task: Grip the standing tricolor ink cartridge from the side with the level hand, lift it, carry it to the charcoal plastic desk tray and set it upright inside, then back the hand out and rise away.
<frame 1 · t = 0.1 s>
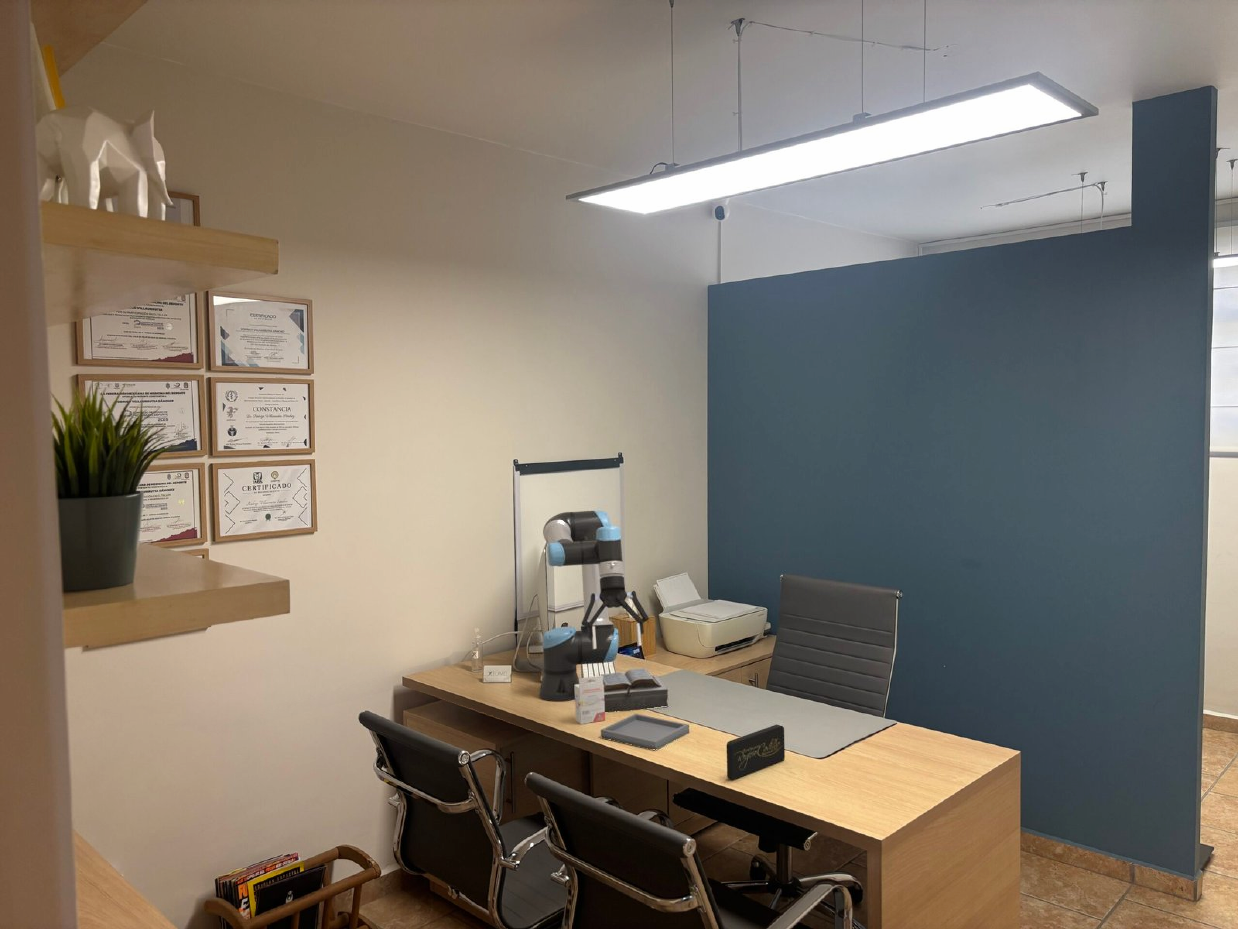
hand: (617, 647, 266), 28 cm above the table, tool tilted 20°, fingers open, 13 cm apart
nameplate: (756, 770, 240), on the table
ink cartridge box: (590, 721, 285), on the table
desk tray: (645, 735, 269), on the table
bible: (628, 703, 303), on the table
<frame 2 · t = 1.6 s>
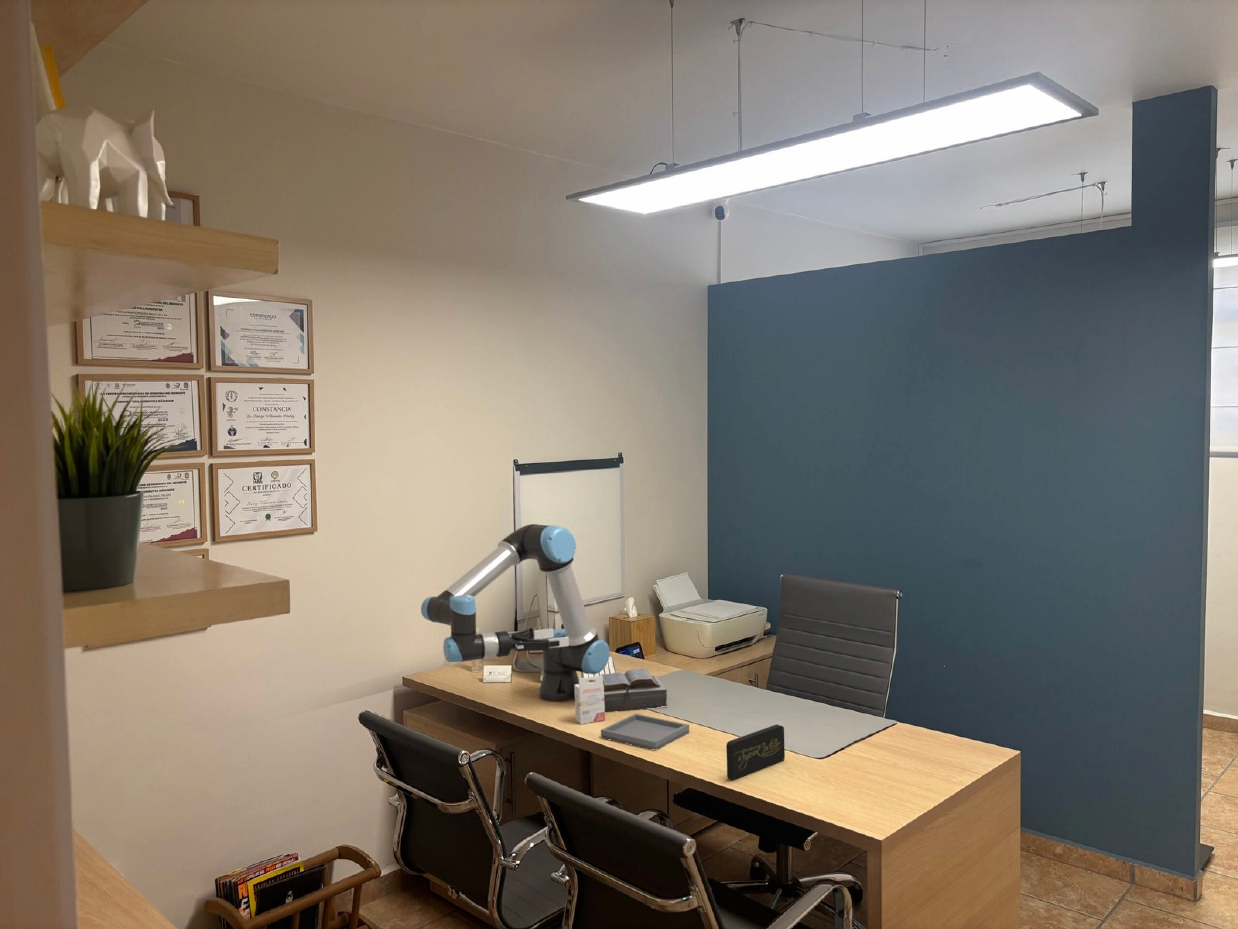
hand: (560, 637, 280), 28 cm above the table, tool horizontal, fingers open, 13 cm apart
nothing on the table moved.
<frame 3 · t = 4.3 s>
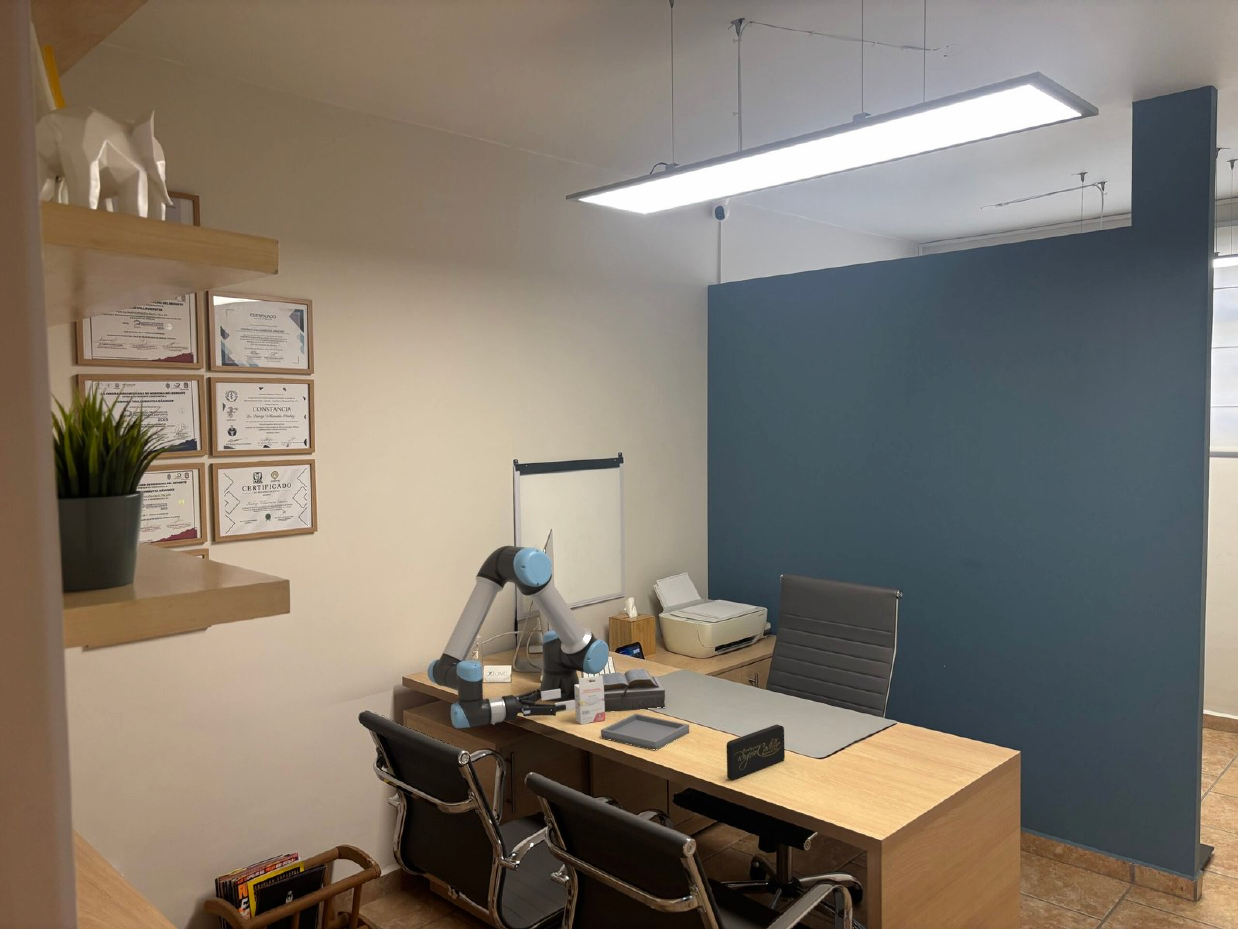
hand: (567, 698, 281), 8 cm above the table, tool horizontal, fingers open, 13 cm apart
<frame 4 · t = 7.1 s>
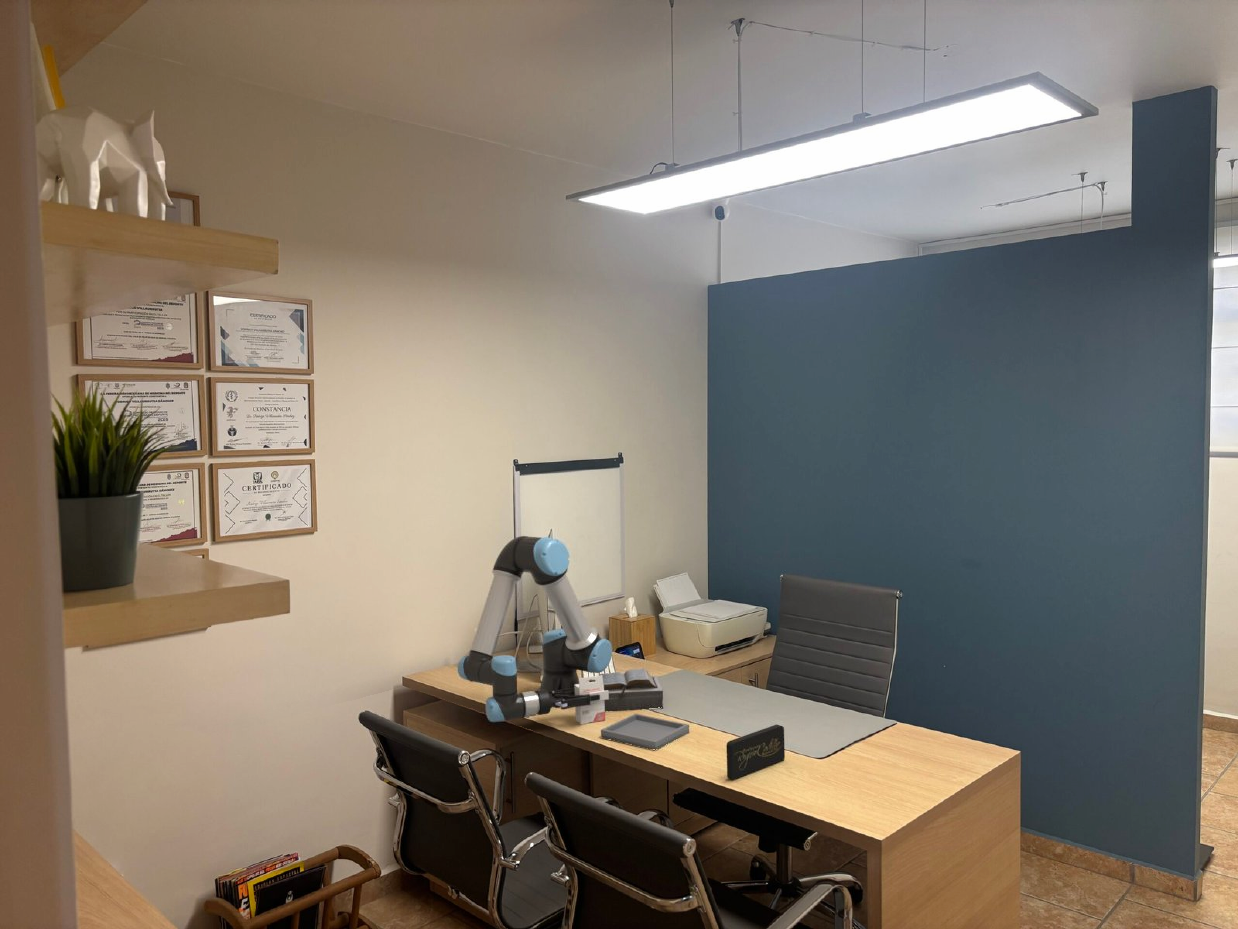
hand: (604, 692, 287), 8 cm above the table, tool horizontal, fingers closed on ink cartridge box, 5 cm apart
ink cartridge box: (590, 721, 285), on the table, touching gripper
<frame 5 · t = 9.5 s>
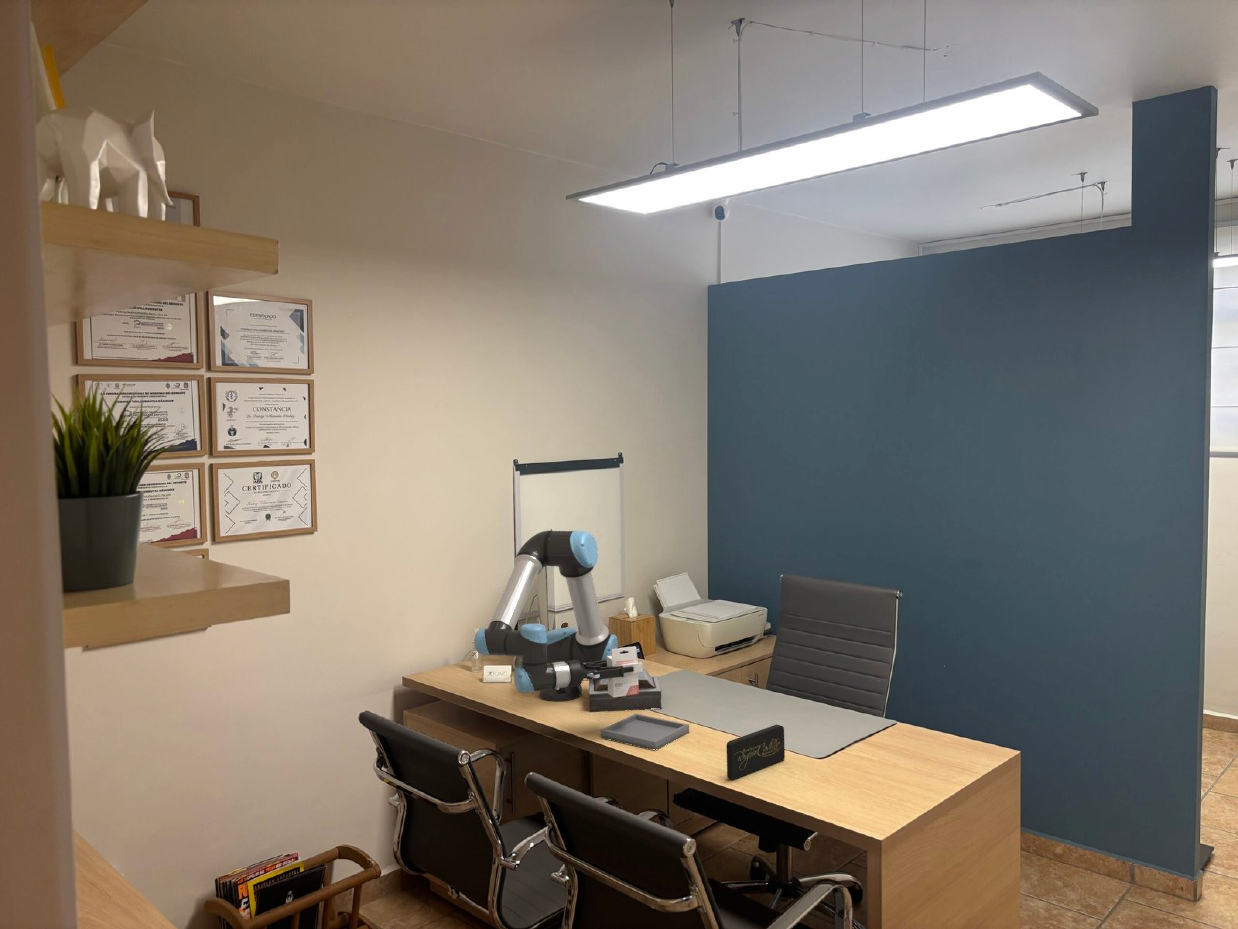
hand: (638, 664, 273), 20 cm above the table, tool horizontal, fingers closed on ink cartridge box, 5 cm apart
ink cartridge box: (623, 694, 271), point 12 cm above the table, touching gripper
when the fingers open (11 cm above the table, at t = 12.0 s): ink cartridge box drops 1 cm, resting on desk tray.
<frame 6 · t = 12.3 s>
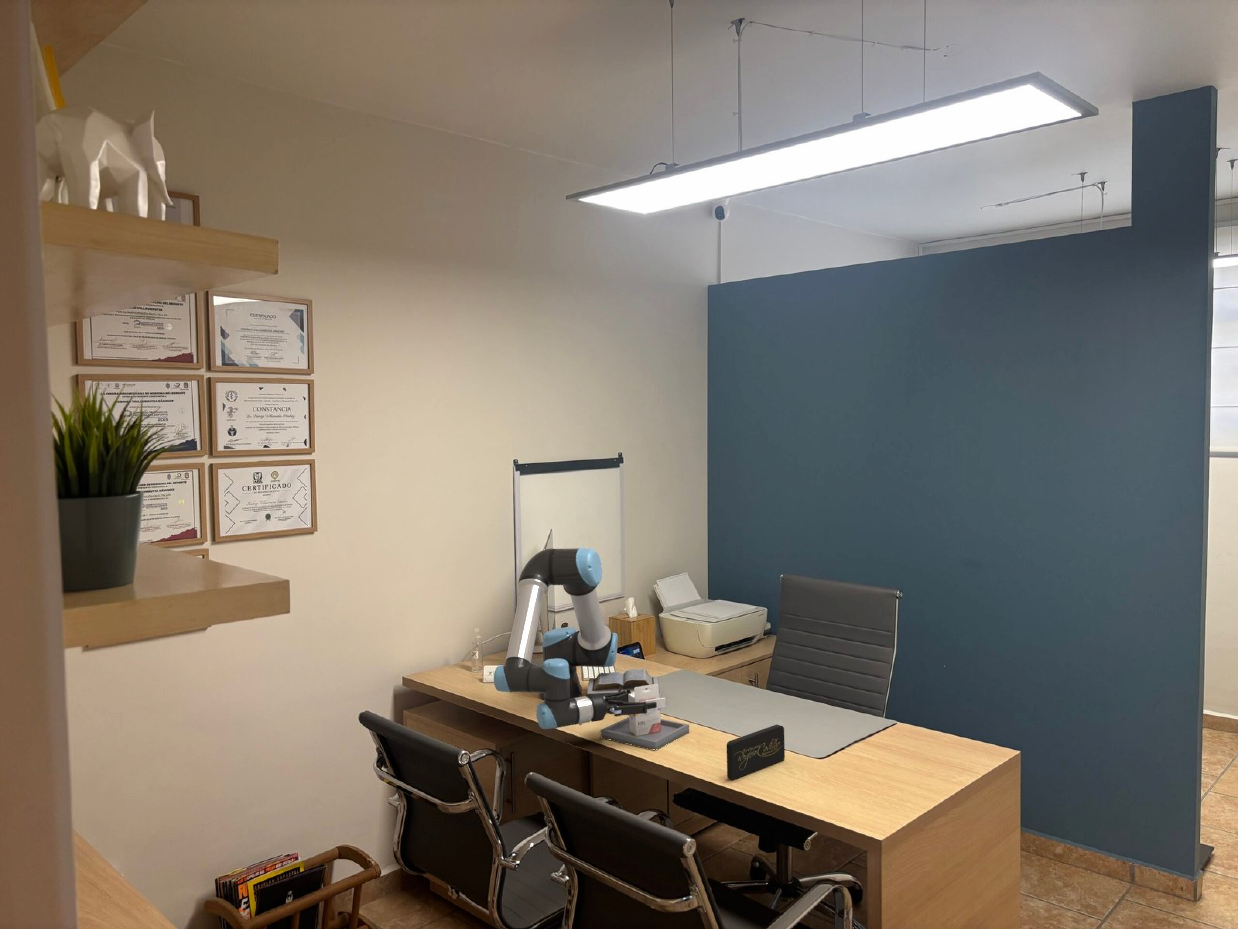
hand: (657, 698, 271), 11 cm above the table, tool horizontal, fingers open, 9 cm apart
ink cartridge box: (645, 732, 270), point 1 cm above the table, touching desk tray
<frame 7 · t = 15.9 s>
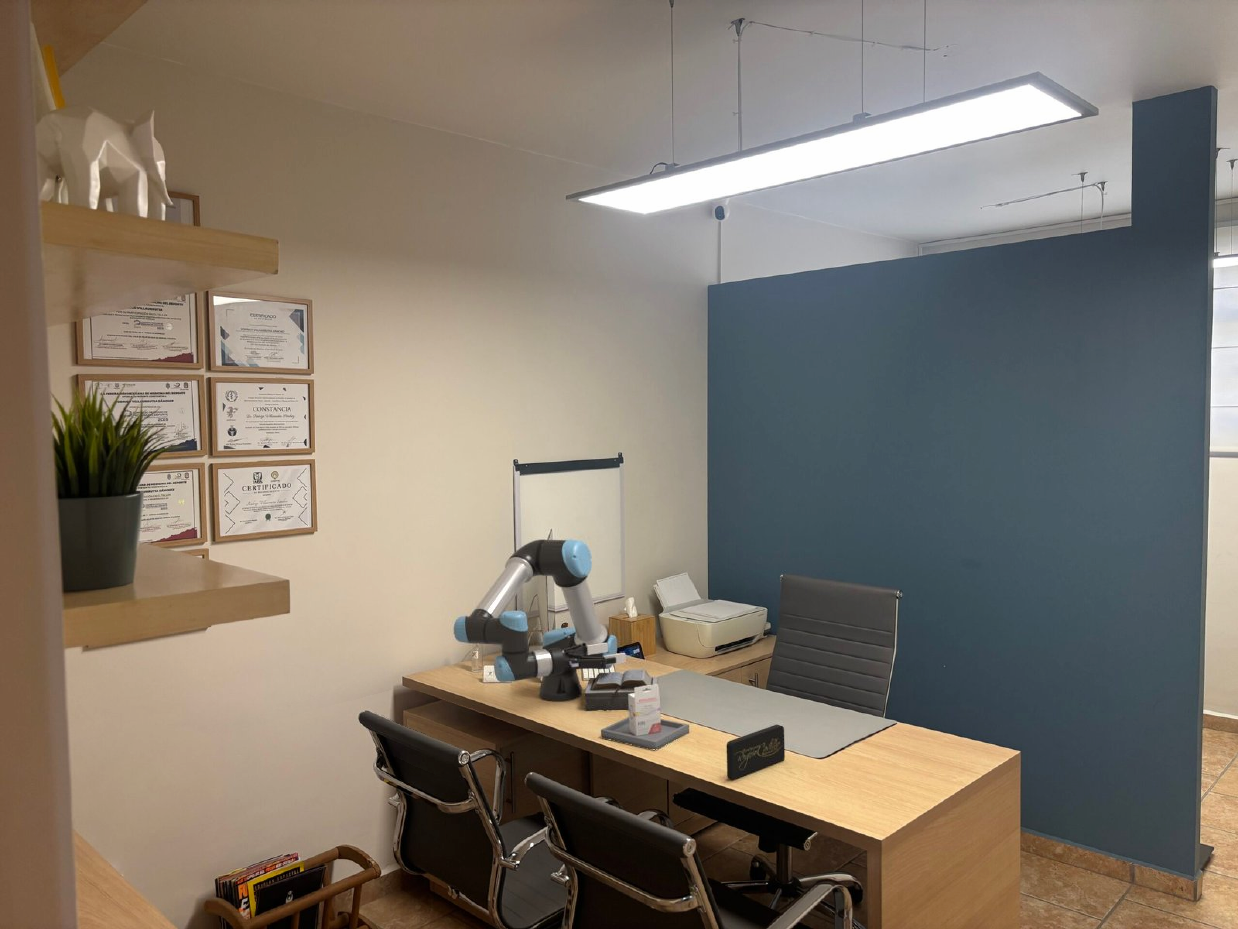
hand: (616, 652, 265), 27 cm above the table, tool horizontal, fingers open, 13 cm apart
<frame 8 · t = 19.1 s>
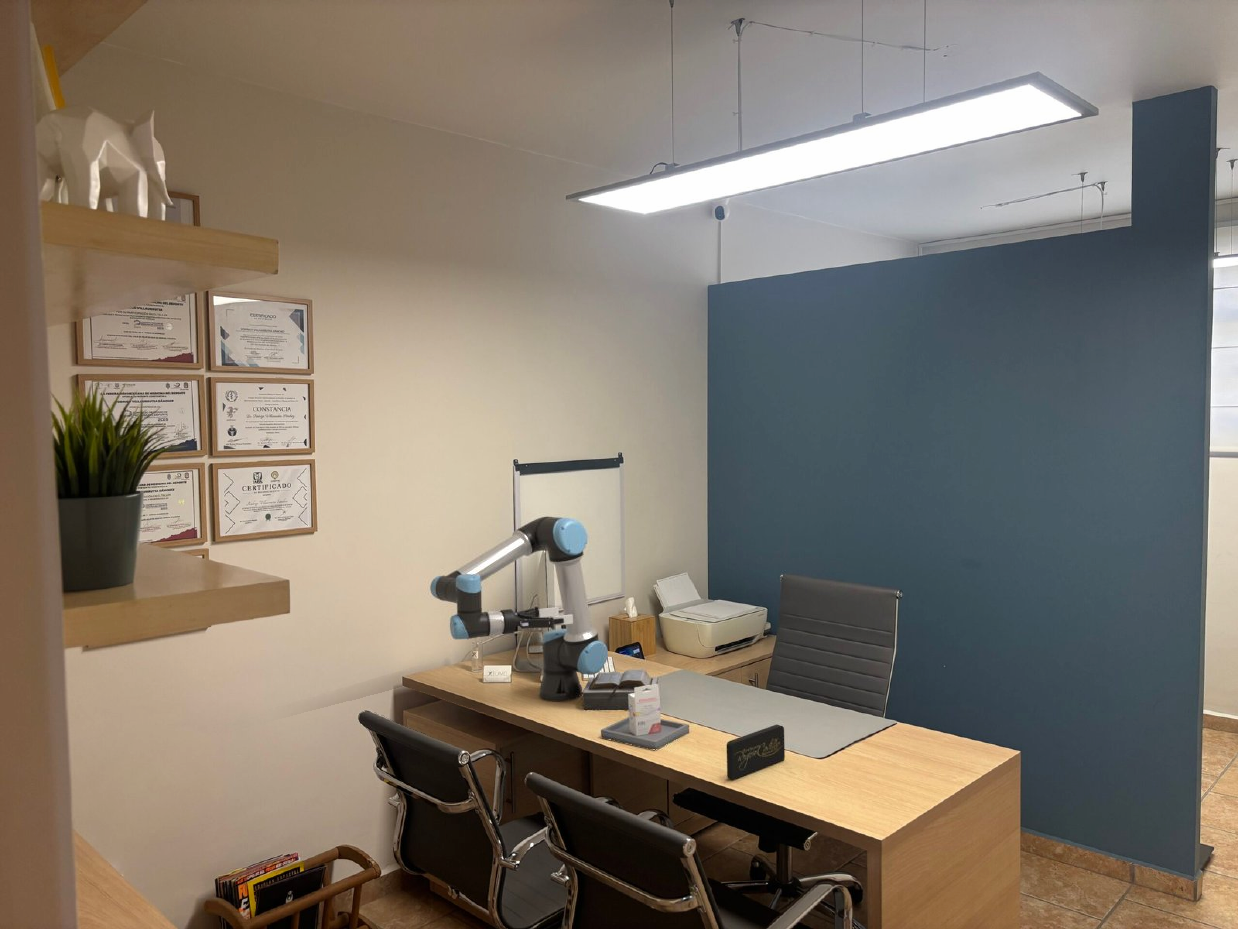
hand: (565, 615, 285), 34 cm above the table, tool horizontal, fingers open, 13 cm apart
at the end: ink cartridge box inside the target area on the desk tray (0.3 cm from its centre), point 0.8 cm above the desk tray's base; ink cartridge box tilted 0°; the gripper is holding nothing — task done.
